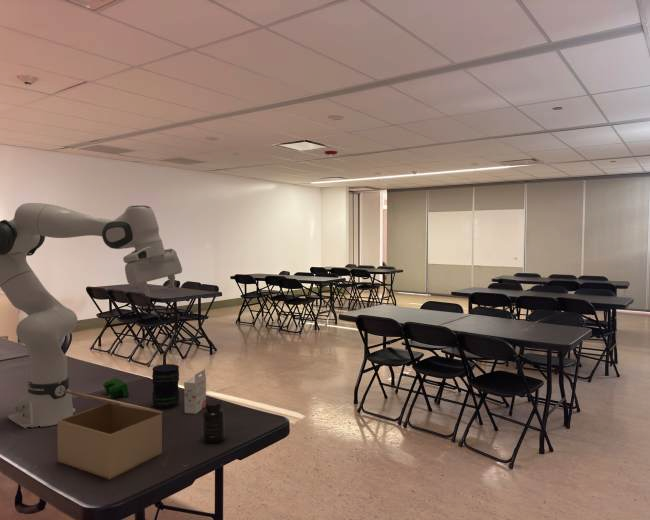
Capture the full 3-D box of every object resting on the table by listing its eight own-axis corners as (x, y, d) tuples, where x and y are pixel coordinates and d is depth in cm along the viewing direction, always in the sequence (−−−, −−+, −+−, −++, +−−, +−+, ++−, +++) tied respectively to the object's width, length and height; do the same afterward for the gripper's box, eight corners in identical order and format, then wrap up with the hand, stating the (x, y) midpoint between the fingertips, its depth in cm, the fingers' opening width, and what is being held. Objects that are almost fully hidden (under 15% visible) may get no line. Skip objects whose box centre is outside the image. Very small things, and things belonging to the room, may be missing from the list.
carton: (57, 461, 135) (57, 420, 134) (111, 438, 151) (111, 401, 150) (110, 479, 125) (110, 435, 124) (162, 453, 141) (161, 413, 141)
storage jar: (148, 410, 177) (148, 370, 177) (157, 401, 187) (157, 364, 187) (174, 410, 177) (174, 370, 177) (182, 401, 187) (182, 364, 187)
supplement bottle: (204, 435, 154) (204, 399, 154) (225, 434, 155) (225, 398, 154) (200, 444, 147) (200, 406, 147) (222, 443, 148) (222, 406, 148)
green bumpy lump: (109, 404, 195) (101, 384, 196) (123, 398, 199) (115, 378, 200) (115, 401, 186) (107, 379, 187) (130, 394, 190) (122, 373, 191)
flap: (62, 392, 136) (63, 390, 136) (111, 401, 150) (112, 399, 151) (115, 404, 126) (116, 402, 126) (161, 413, 141) (162, 411, 141)
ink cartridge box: (194, 405, 183) (194, 367, 182) (206, 406, 182) (206, 368, 181) (183, 413, 174) (183, 373, 174) (196, 414, 173) (196, 374, 173)
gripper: (168, 249, 168) (178, 286, 169) (118, 259, 150) (129, 300, 151) (180, 246, 164) (190, 284, 165) (130, 255, 147) (141, 298, 148)
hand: (160, 292), depth 158 cm, fingers open, 8 cm apart
